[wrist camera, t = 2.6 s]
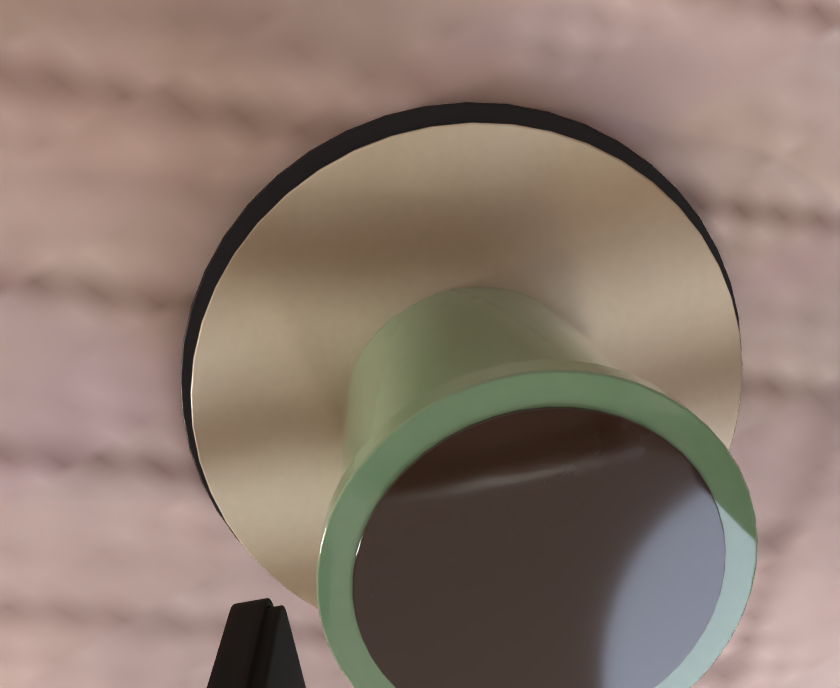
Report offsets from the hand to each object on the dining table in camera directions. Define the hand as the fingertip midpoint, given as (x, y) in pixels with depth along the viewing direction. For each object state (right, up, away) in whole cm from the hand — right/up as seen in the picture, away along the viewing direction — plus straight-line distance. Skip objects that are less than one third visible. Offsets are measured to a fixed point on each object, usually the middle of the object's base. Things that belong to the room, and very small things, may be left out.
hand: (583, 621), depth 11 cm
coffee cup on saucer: (-1, +3, +9) cm, 9 cm away
